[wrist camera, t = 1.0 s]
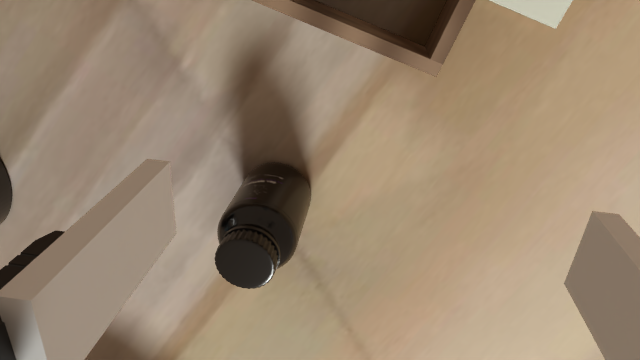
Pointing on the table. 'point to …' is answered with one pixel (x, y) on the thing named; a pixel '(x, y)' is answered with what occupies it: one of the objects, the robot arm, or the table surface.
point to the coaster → (539, 9)
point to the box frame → (383, 31)
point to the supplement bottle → (262, 225)
